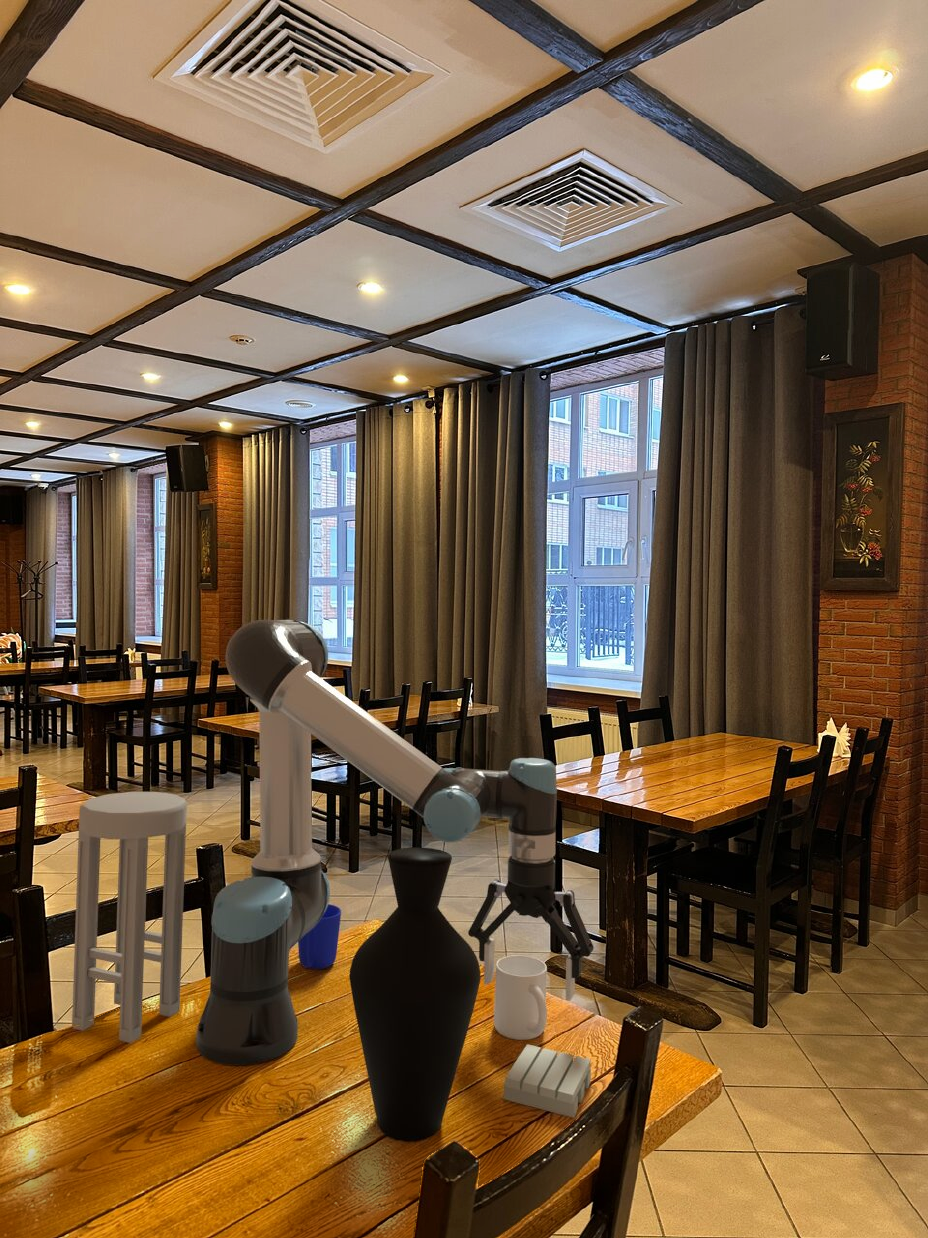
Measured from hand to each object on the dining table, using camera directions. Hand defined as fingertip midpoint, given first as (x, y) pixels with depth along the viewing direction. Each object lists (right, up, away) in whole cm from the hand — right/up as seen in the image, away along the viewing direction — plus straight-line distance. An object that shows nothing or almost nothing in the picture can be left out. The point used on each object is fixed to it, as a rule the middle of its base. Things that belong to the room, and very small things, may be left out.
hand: (528, 989), depth 135 cm
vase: (-18, -7, -24) cm, 31 cm away
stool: (-64, -5, 0) cm, 65 cm away
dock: (+1, -7, -16) cm, 18 cm away
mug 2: (-1, -7, 0) cm, 8 cm away
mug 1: (-38, -6, +22) cm, 44 cm away
